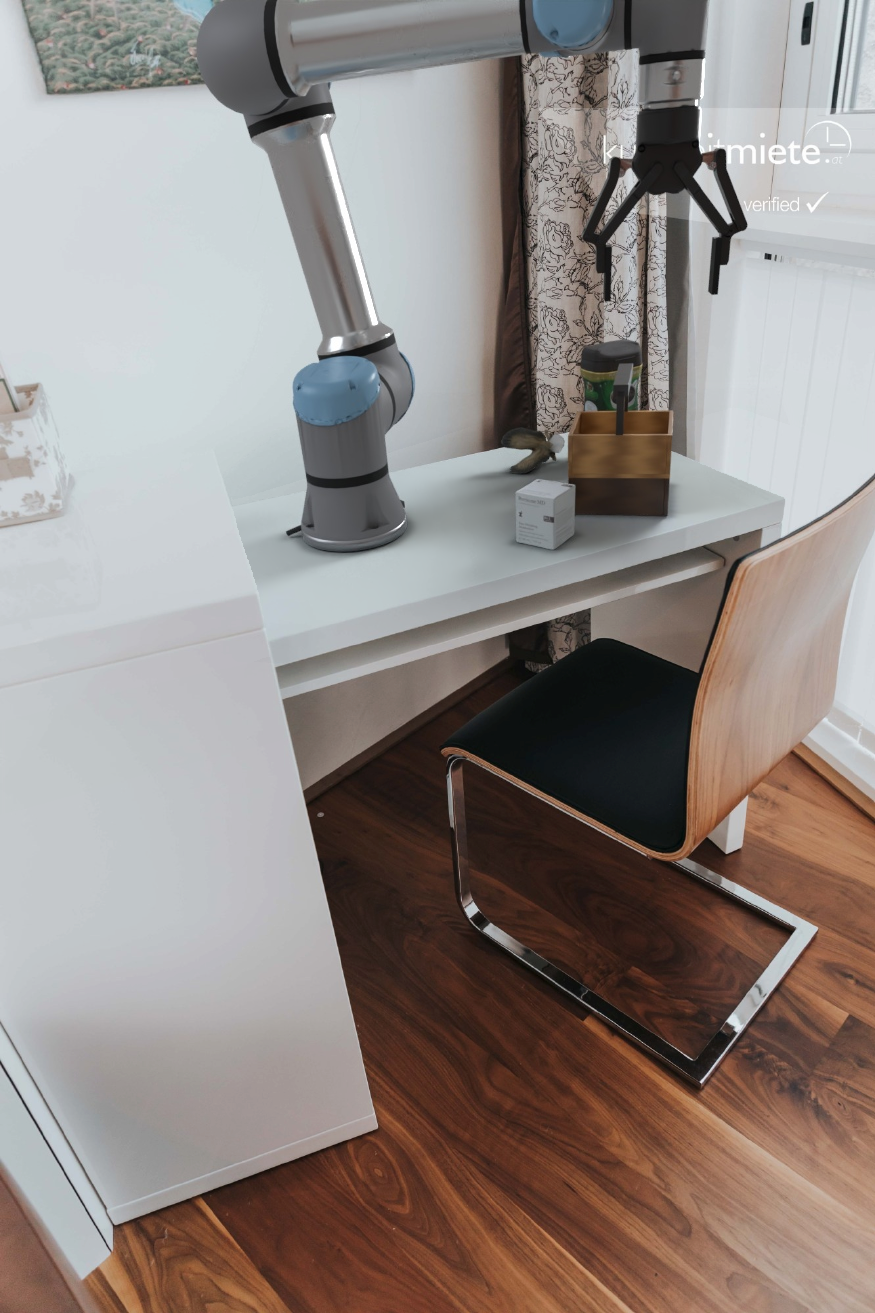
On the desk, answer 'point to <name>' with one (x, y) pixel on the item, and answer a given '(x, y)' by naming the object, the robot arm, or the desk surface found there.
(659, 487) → the dark brown wooden box
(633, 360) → the coffee jar
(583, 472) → the box
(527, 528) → the product carton
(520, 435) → the eagle figurine
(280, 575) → the desk surface
